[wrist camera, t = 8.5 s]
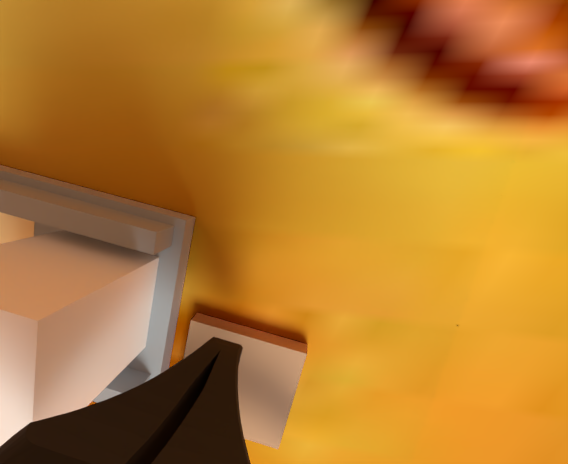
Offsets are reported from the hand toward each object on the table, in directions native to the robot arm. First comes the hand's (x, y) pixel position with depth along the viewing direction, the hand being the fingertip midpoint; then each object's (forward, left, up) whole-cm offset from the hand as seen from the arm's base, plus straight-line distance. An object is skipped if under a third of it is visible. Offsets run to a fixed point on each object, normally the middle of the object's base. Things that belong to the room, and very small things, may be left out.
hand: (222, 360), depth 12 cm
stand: (-3, -1, -3) cm, 4 cm away
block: (0, +7, -2) cm, 7 cm away
